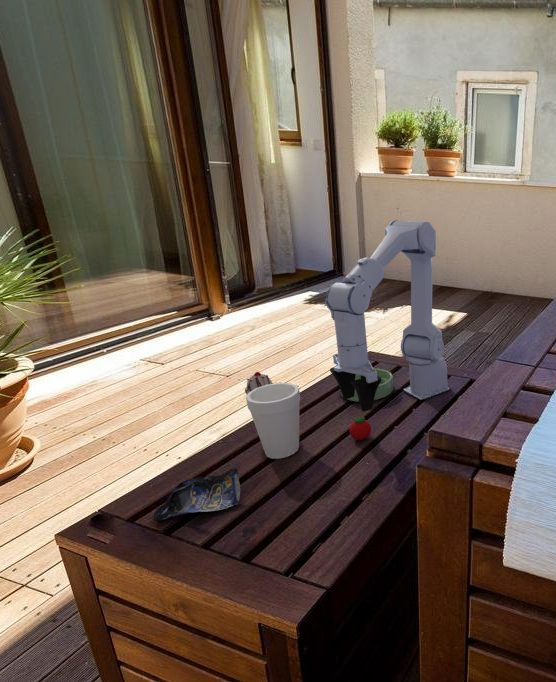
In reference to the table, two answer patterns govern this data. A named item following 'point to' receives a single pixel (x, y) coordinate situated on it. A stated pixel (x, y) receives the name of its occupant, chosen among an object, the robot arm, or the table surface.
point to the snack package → (202, 495)
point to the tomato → (360, 428)
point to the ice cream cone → (257, 382)
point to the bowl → (383, 388)
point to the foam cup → (276, 418)
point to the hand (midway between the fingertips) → (357, 403)
